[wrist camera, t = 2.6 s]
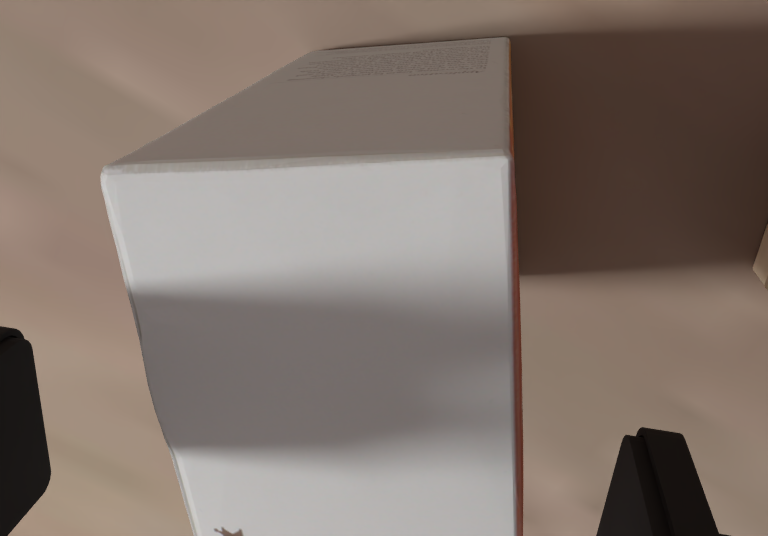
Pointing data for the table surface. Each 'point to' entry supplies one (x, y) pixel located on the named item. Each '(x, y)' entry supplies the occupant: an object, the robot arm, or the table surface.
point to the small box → (336, 296)
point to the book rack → (762, 260)
